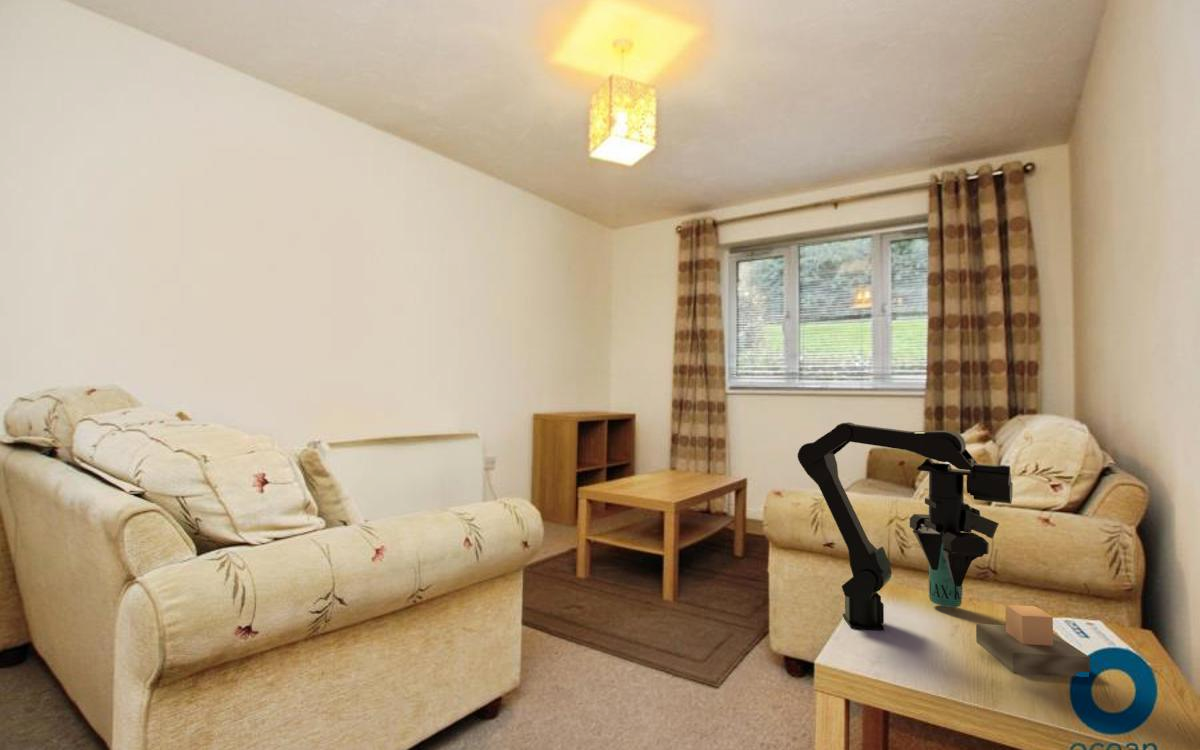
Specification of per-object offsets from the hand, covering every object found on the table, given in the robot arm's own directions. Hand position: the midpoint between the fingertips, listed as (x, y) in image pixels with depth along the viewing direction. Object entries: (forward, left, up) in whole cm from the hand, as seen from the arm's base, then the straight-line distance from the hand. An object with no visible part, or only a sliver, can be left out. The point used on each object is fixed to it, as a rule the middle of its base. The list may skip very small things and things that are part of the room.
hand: (945, 577), depth 108 cm
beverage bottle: (+8, +19, -13) cm, 25 cm away
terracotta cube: (+12, -4, -9) cm, 16 cm away
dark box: (+12, -4, -13) cm, 19 cm away
